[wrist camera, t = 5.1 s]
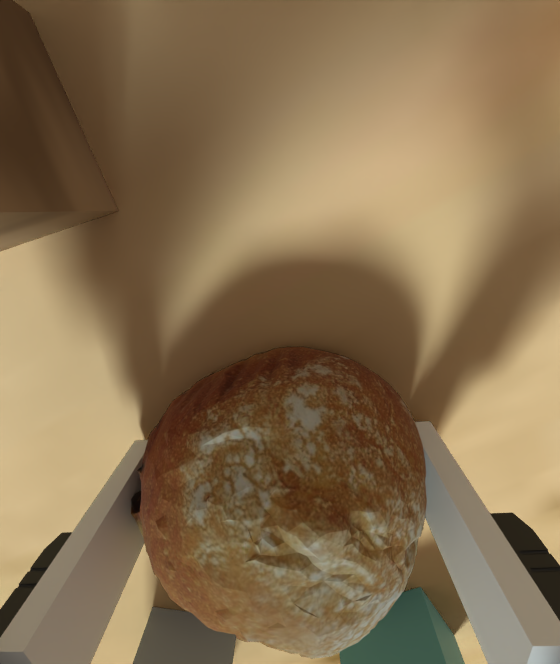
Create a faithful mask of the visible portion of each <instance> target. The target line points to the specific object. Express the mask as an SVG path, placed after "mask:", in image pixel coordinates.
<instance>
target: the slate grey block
mask: <svg viewBox="0 0 560 664" xmlns="http://www.w3.org/2000/svg"><path fill="white" fill-rule="evenodd" d="M235 641H236V635H235V634H229V633H224V632H220V631H218V632H217V631H215V630H212V629H210V628H208V627H207V626H206V625H204V624H203V623H202V622H201V621H200V620H199V619H198V618H197V617H196V616H195V615H193V614H192V613H191V612H186V611H179V610H172V609H165V608H157V607H153V608H152V611H151V613H150V616H149V619H148V622H147V625H146V628H145V630H144V633H143V636H142V639H141V642H140V645H139V647H138V650H137V653H136V656H135V659H134V661H133V664H232V663H233V656H234V648H235Z"/></svg>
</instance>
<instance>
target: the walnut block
mask: <svg viewBox="0 0 560 664" xmlns="http://www.w3.org/2000/svg"><path fill="white" fill-rule="evenodd" d="M117 211H118V209H117V206H116V204H115V202H114V200H113V198H112V195H111V193H110V191H109V189H108V186H107V184H106V182H105V180H104V178H103V175H102V173H101V171H100V169H99V166H98V164H97V162H96V160H95V158H94V155H93V153H92V151H91V149H90V146H89V144H88V142H87V140H86V138H85V135H84V133H83V131H82V129H81V126H80V124H79V122H78V120H77V118H76V115H75V113H74V111H73V109H72V106H71V104H70V102H69V100H68V98H67V95H66V93H65V91H64V89H63V86H62V84H61V82H60V80H59V78H58V75H57V73H56V71H55V69H54V66H53V64H52V62H51V60H50V58H49V55H48V53H47V51H46V49H45V46H44V44H43V42H42V40H41V38H40V35H39V33H38V31H37V29H36V26H35V24H34V22H33V20H32V17H31V15H30V13H29V12H28V11H26V10H25V9H23V8H22V7H21V6H19V5H18V4H17V3H15V2H14V1H13V0H0V251H3V250H6V249H9V248H12V247H14V246H17V245H20V244H23V243H26V242H29V241H32V240H35V239H38V238H41V237H44V236H47V235H49V234H52V233H55V232H58V231H61V230H64V229H67V228H70V227H73V226H76V225H79V224H82V223H84V222H87V221H90V220H93V219H96V218H99V217H102V216H105V215H108V214H111V213H114V212H117Z"/></svg>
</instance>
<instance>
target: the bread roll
mask: <svg viewBox="0 0 560 664" xmlns="http://www.w3.org/2000/svg"><path fill="white" fill-rule="evenodd" d="M142 460H143V462H142V466H141V467H140V468H139V469H138V470H137V472H138V473H139V476H140V480H141V490H140V491H138V492H137V493H135V494H134V496H133V497H132V499H131V515H132V516H133V517H134V519H135V521H136V523H137V525H138V528H139V530H140V532H141V534H142V536H143V538H144V543H145V546H146V551H147V553H148V555H149V558H150V562H151V565H152V569H153V572H154V574H155V575H156V576H157V577H158V578H159V580H160V583H161V585H162V586H163V588H164V589H165V591H166V592H167V594H168V596H169V598H170V599H171V600H172V601H174V602H175V603H176V604H178V605H179V606H180V607H181V608H183V609H184V610H186V611H188V612H191V613H192V614H193V615H195V616H196V617H197V618H198V619H199V620H200V621H201V622H202V623H203V624H204V625H206V626H207V627H208V628H210V629H212V630H215V631H217V632H218V631H220V632H224V633H229V634H235V635H236V637H237V638H238V639H239V640H242V641H244V642H260V643H262V644H264V645H266V646H268V647H271V648H274V649H278V650H281V651H284V652H288V653H291V654H299V655H300V656H302V657H307V658H320V657H330V656H332V655H334V654H337V653H339V652H340V651H342V650H344V649H345V648H347V647H349V646H352V645H354V644H356V643H358V642H359V641H360V640H361V639H362V638H363V637H365V636H366V635H367V634H369V633H370V630H372V629H373V628H375V626H376V625H377V623H378V622H379V621H380V620H381V619H383V618H384V617H385V616H386V614H387V613H388V612H389V610H390V609H391V607H392V606H393V605H394V603H395V602H396V600H397V599H398V598H399V597H400V595H401V594H402V592H403V591H404V589H405V587H406V584H407V581H408V578H409V576H410V574H411V572H412V569H413V566H414V562H415V556H416V554H417V542H418V538H419V537H421V533H422V530H423V526H424V520H425V514H426V505H427V497H426V486H425V478H426V464H425V457H424V451H423V445H422V441H421V438H420V435H419V432H418V429H417V426H416V423H415V422H414V420H413V418H412V416H411V414H410V412H409V410H408V409H407V407H406V405H405V403H404V402H403V400H402V399H401V398H400V396H399V395H398V394H397V393H396V391H395V390H394V389H393V388H392V387H391V386H390V385H389V384H388V383H387V382H386V381H384V380H383V379H382V378H381V377H380V376H378V375H377V374H375V373H374V372H372V371H371V370H369V369H368V368H366V367H364V366H362V365H361V364H359V363H357V362H355V361H353V360H351V359H349V358H347V357H344V356H341V355H337V354H334V353H330V352H326V351H321V350H316V349H311V348H306V347H285V348H276V349H272V350H270V351H268V352H265V353H261V354H256V355H253V356H252V357H250V358H249V359H247V360H243V361H239V362H237V363H235V364H233V365H231V366H229V367H227V368H225V369H223V370H221V371H218V372H216V373H213V374H212V375H210V376H208V377H206V378H204V379H202V380H200V381H198V382H196V383H195V384H194V386H193V387H192V388H191V389H189V390H187V391H186V392H184V393H182V394H181V395H180V396H178V397H177V398H176V399H175V400H174V401H173V402H172V403H171V404H170V406H169V407H168V409H167V411H166V413H165V414H164V415H163V417H162V418H161V420H160V421H159V423H158V425H157V426H156V427H155V428H154V429H153V431H152V432H151V433H150V435H149V438H148V441H147V445H146V449H145V452H144V457H143V459H142Z"/></svg>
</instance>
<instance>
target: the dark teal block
mask: <svg viewBox="0 0 560 664" xmlns="http://www.w3.org/2000/svg"><path fill="white" fill-rule="evenodd" d="M340 662H341V664H465V663H464V660H463V658H462V655H461V652H460V650H459V647H458V644H457V642H456V639H455V636H454V634H453V633H452V632H451V630H450V629H449V627H448V626H447V624H446V623H445V621H444V620H443V619H442V617H441V616H440V614H439V613H438V611H437V610H436V608H435V607H434V606H433V604H432V603H431V601H430V600H429V598H428V597H427V596H426V594H425V593H424V591H423V590H422V588H421V587H419V588H415V589H412V590H409V591H405V592H402V594H401V595H400V597H399V598H398V599H397V600H396V602H395V603H394V605H393V606H392V607H391V609H390V610H389V612H388V613H387V614H386V616H385V617H384V618H383V619H381V620H380V621H379V622H378V623H377V625H376V626H375V628H373V629H372V630H370V633H369V634H367V635H366V636H365V637H363V638H362V639H361V640H360V641H359V642H358V643H356V644H354V645H352V646H349V647H347V648H345V649H344V650H342V651H340Z"/></svg>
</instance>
